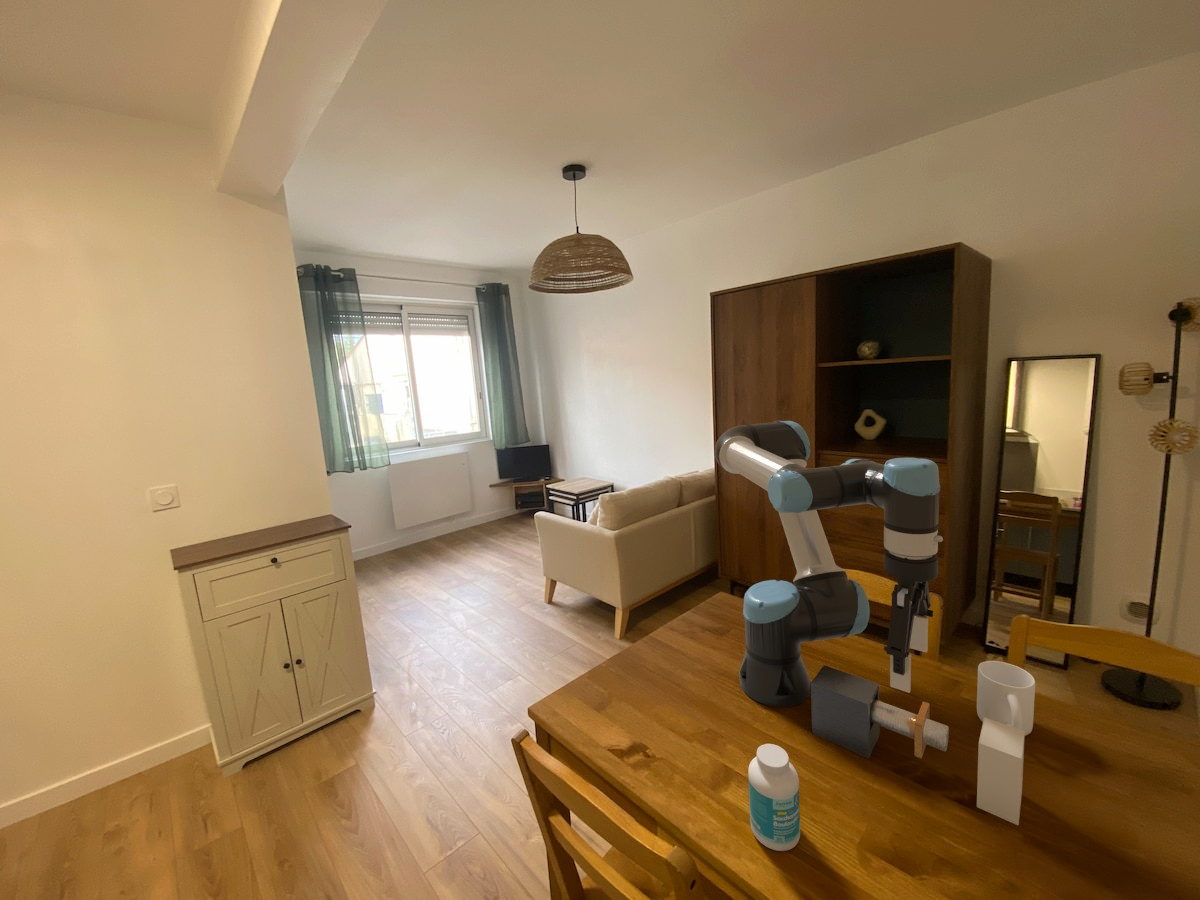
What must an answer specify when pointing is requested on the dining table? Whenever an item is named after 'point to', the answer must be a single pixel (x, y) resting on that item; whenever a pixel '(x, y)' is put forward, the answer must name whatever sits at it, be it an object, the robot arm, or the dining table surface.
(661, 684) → the dining table surface
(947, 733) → the tube
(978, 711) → the mug
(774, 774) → the pill bottle
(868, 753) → the sleeve
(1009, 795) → the socket block
